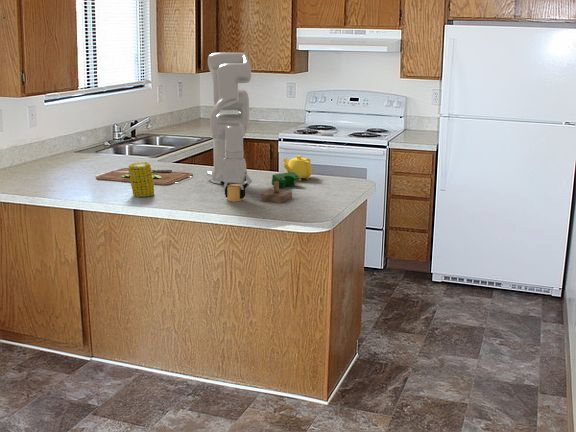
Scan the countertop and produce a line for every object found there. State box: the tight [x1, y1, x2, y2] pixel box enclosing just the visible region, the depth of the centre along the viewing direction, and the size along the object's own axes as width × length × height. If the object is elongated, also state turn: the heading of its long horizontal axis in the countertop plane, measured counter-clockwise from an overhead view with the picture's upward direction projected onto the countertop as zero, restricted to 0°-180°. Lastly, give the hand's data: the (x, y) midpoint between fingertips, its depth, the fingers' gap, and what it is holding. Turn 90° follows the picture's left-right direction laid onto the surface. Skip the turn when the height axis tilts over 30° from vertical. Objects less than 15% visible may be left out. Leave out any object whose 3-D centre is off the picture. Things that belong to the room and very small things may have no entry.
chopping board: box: [94, 167, 195, 187], centre depth 361 cm, size 45×27×3 cm, turn 69°
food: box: [128, 161, 155, 198], centre depth 323 cm, size 15×12×10 cm
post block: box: [260, 181, 293, 204], centre depth 317 cm, size 10×10×8 cm
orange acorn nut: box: [226, 183, 244, 203], centre depth 316 cm, size 6×6×6 cm
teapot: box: [282, 155, 313, 182], centre depth 357 cm, size 14×14×11 cm
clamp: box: [271, 172, 299, 189], centre depth 341 cm, size 12×6×9 cm, turn 116°
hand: (235, 197), depth 317 cm, fingers closed on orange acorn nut, 6 cm apart
